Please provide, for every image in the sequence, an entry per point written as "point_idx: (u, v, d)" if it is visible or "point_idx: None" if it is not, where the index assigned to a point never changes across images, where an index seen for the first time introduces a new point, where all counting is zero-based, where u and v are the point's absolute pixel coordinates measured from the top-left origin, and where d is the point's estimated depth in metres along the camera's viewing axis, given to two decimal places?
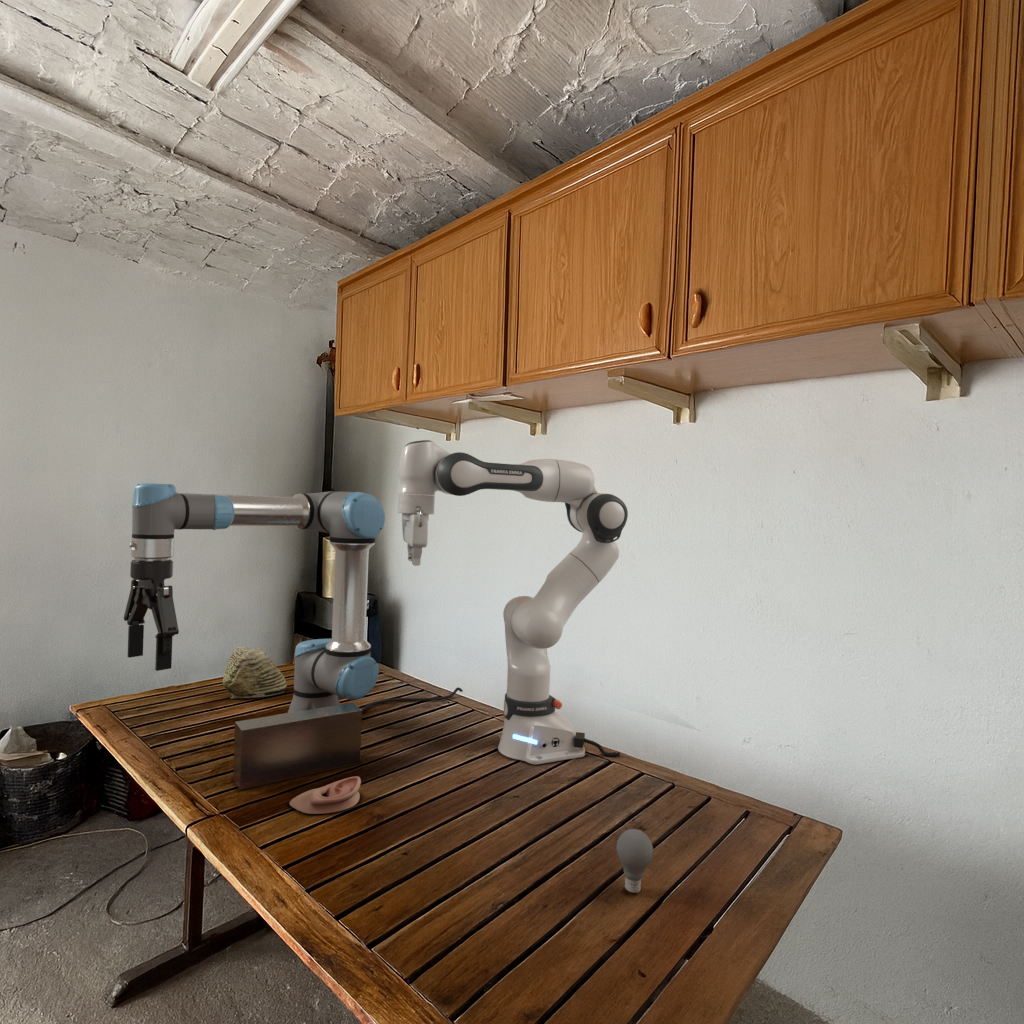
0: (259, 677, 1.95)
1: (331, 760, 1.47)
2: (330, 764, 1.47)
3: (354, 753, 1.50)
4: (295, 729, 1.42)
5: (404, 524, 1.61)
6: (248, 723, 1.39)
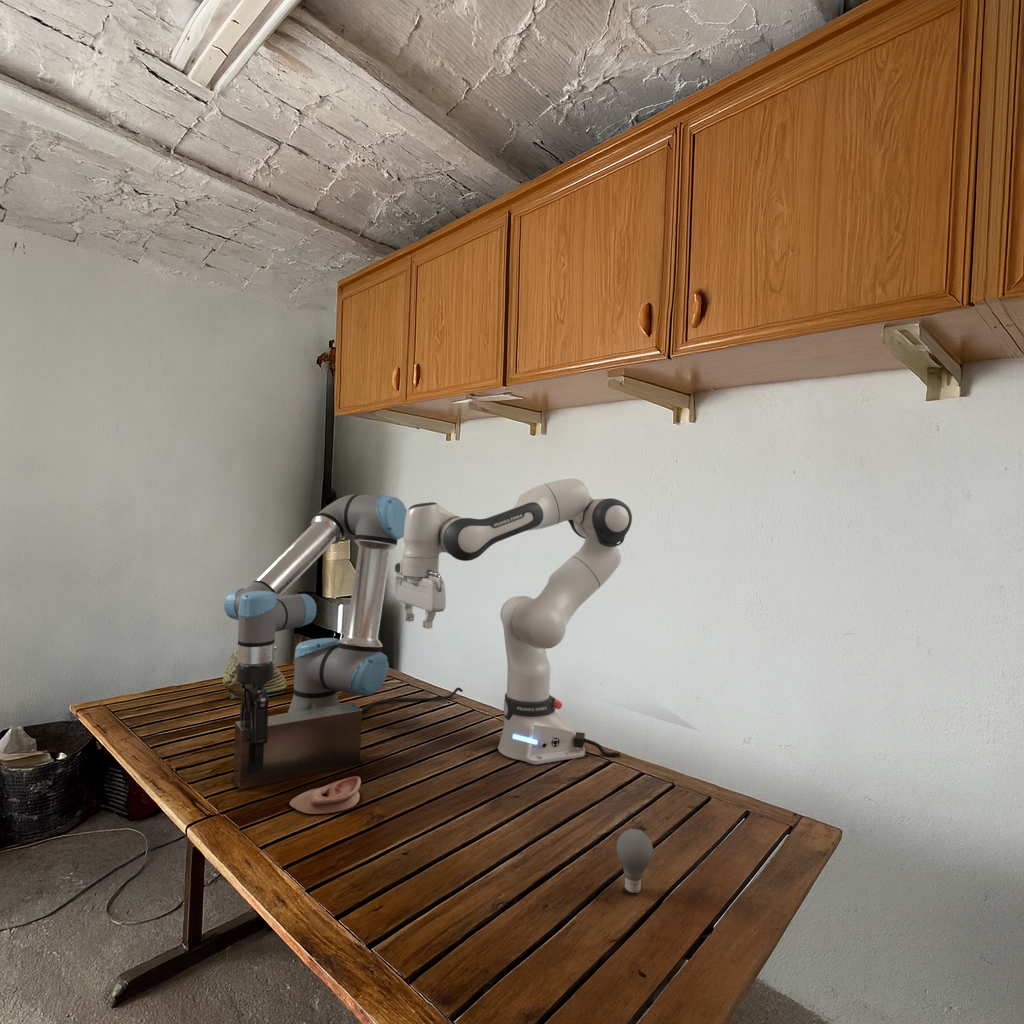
0: None
1: (331, 760, 1.47)
2: (330, 764, 1.47)
3: (354, 753, 1.50)
4: (295, 729, 1.42)
5: (398, 584, 1.60)
6: (249, 723, 1.39)
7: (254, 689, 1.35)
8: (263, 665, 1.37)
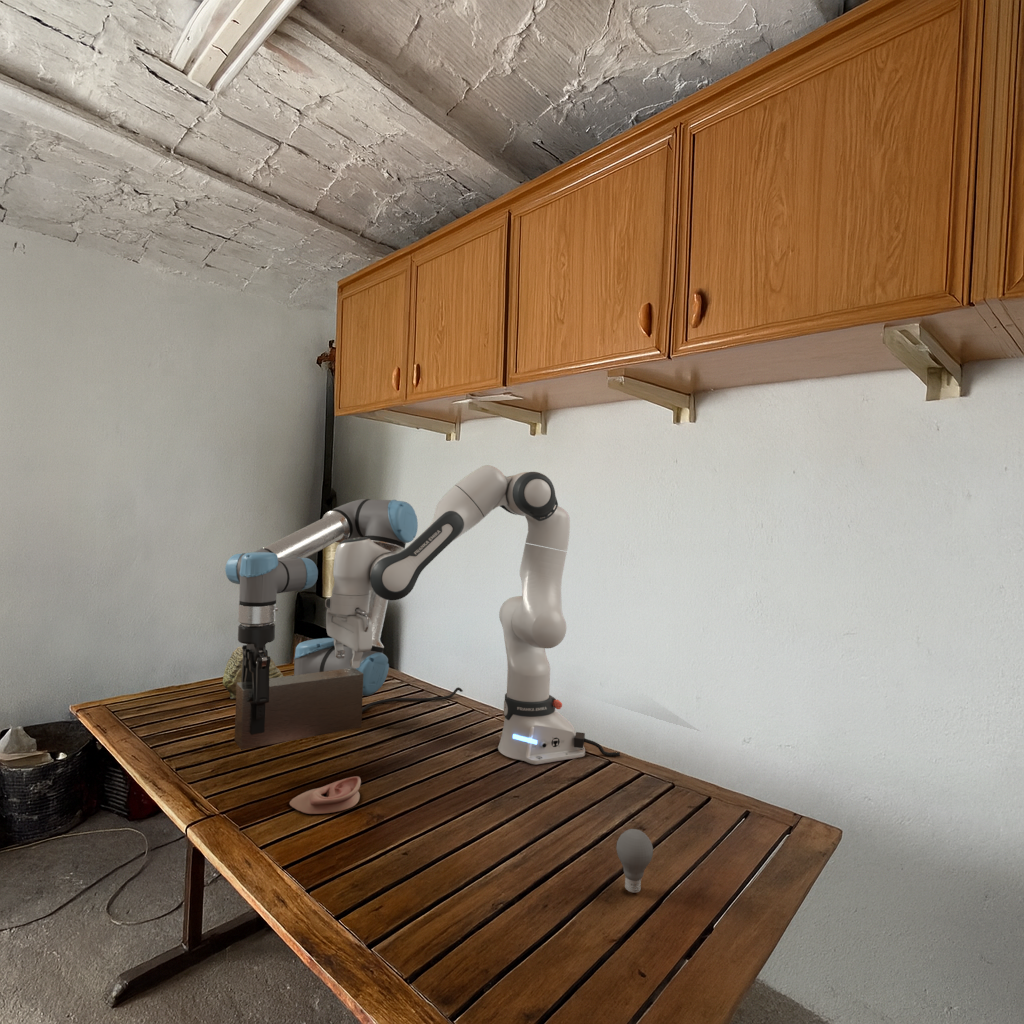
0: None
1: (333, 723, 1.47)
2: (332, 727, 1.47)
3: (355, 717, 1.50)
4: (296, 691, 1.41)
5: (330, 619, 1.56)
6: (250, 684, 1.39)
7: (255, 649, 1.35)
8: (264, 625, 1.37)
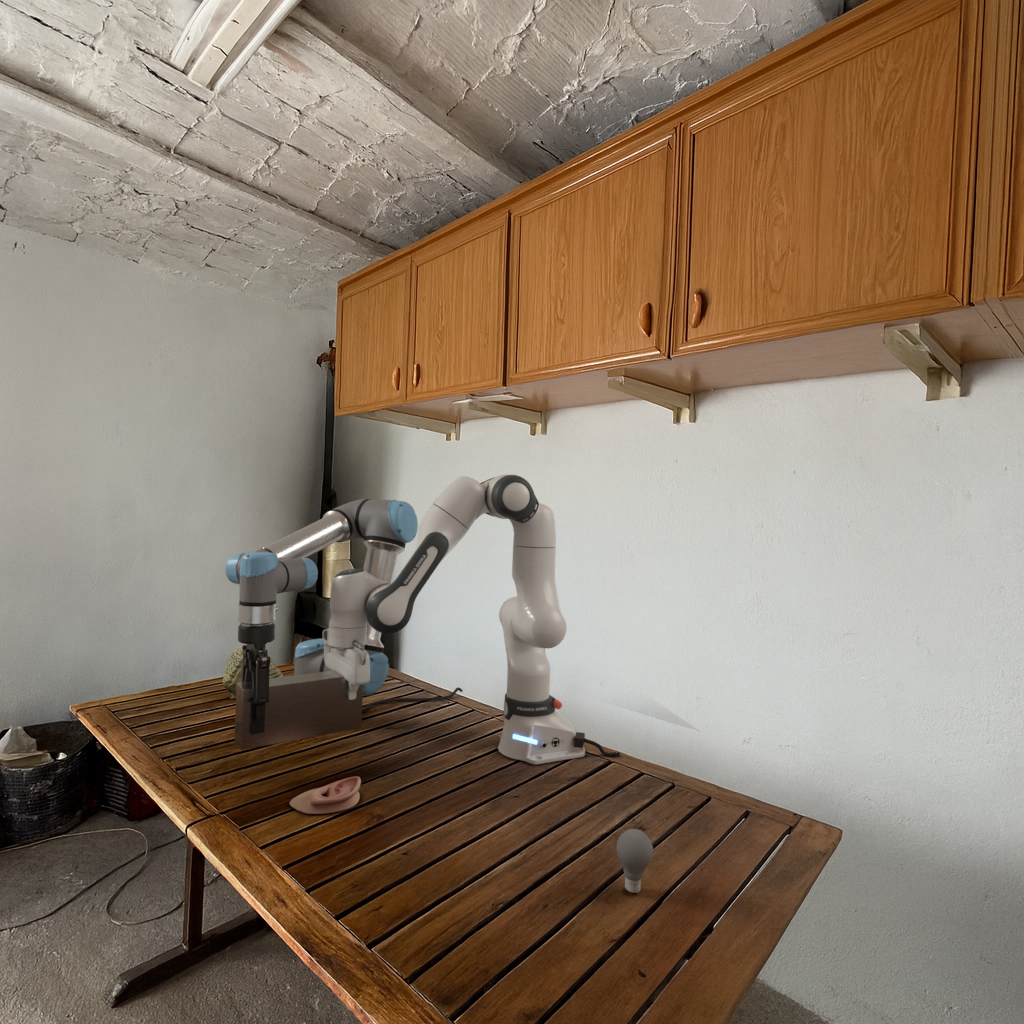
0: None
1: (333, 724, 1.47)
2: (332, 727, 1.47)
3: (355, 717, 1.50)
4: (296, 691, 1.41)
5: (327, 650, 1.56)
6: (250, 684, 1.39)
7: (255, 649, 1.35)
8: (264, 625, 1.37)
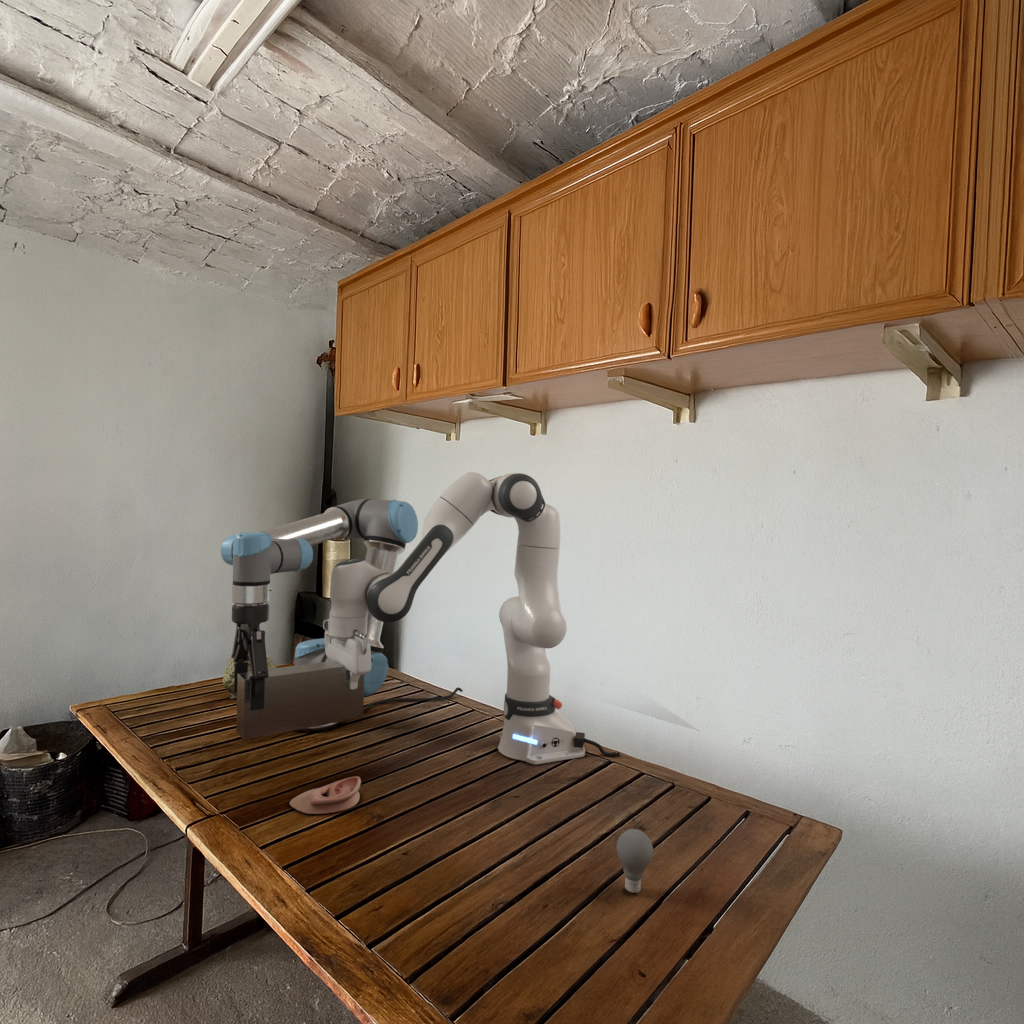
0: None
1: (334, 713, 1.47)
2: (333, 717, 1.47)
3: (357, 707, 1.50)
4: (297, 681, 1.41)
5: (328, 641, 1.56)
6: (251, 674, 1.39)
7: (249, 629, 1.34)
8: (258, 605, 1.36)
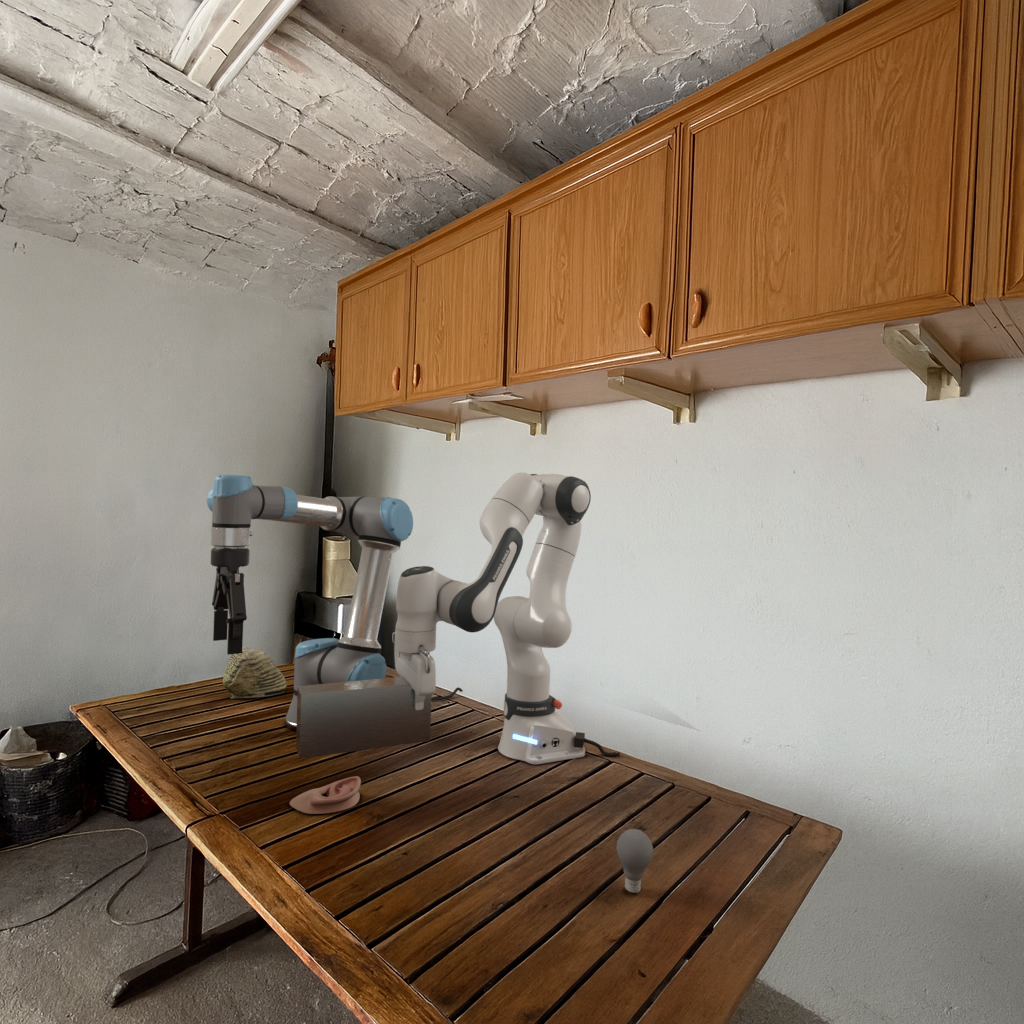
0: (259, 677, 1.95)
1: (398, 735, 1.35)
2: (397, 739, 1.35)
3: (423, 729, 1.37)
4: (358, 698, 1.31)
5: (397, 654, 1.45)
6: (310, 688, 1.30)
7: (228, 572, 1.31)
8: (238, 548, 1.33)
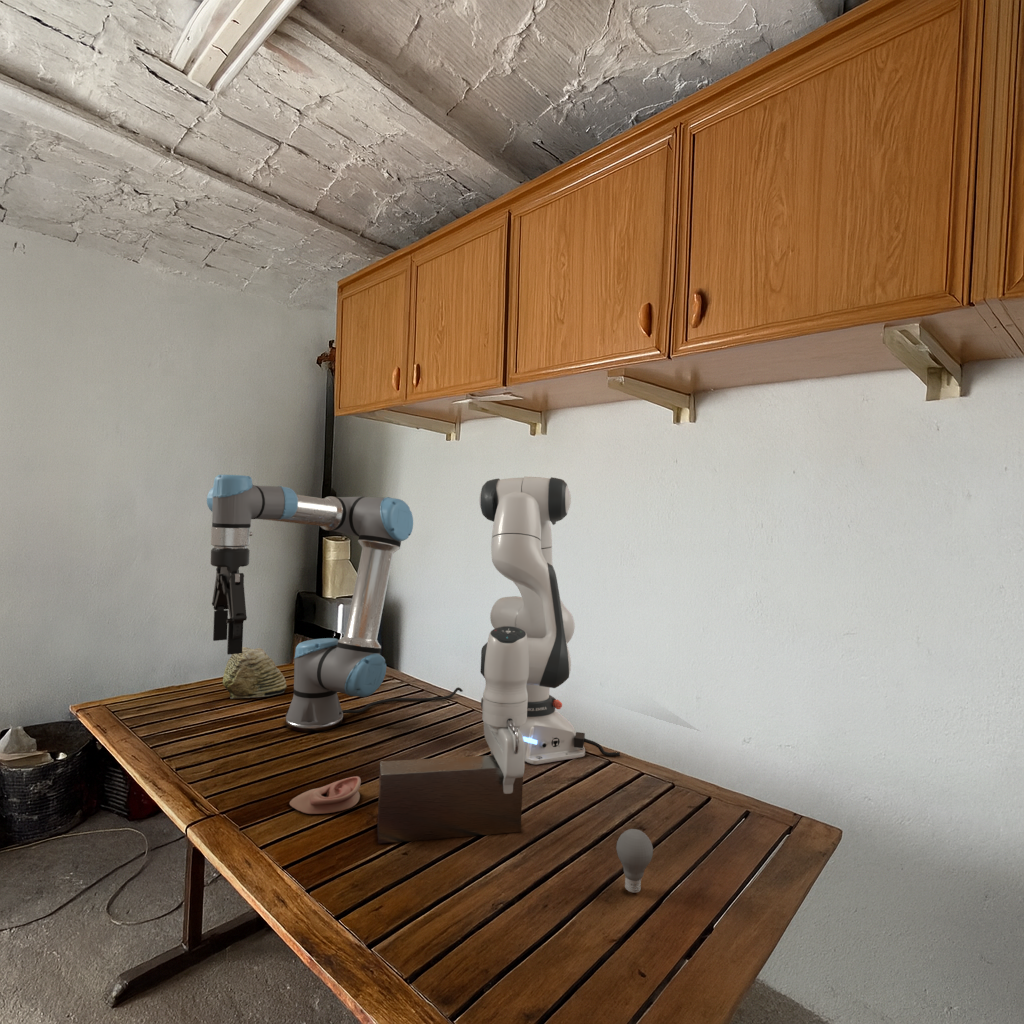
0: (259, 677, 1.95)
1: (485, 824, 1.21)
2: (484, 828, 1.21)
3: (513, 819, 1.23)
4: (441, 781, 1.19)
5: None
6: (392, 765, 1.20)
7: (228, 572, 1.31)
8: (238, 548, 1.33)
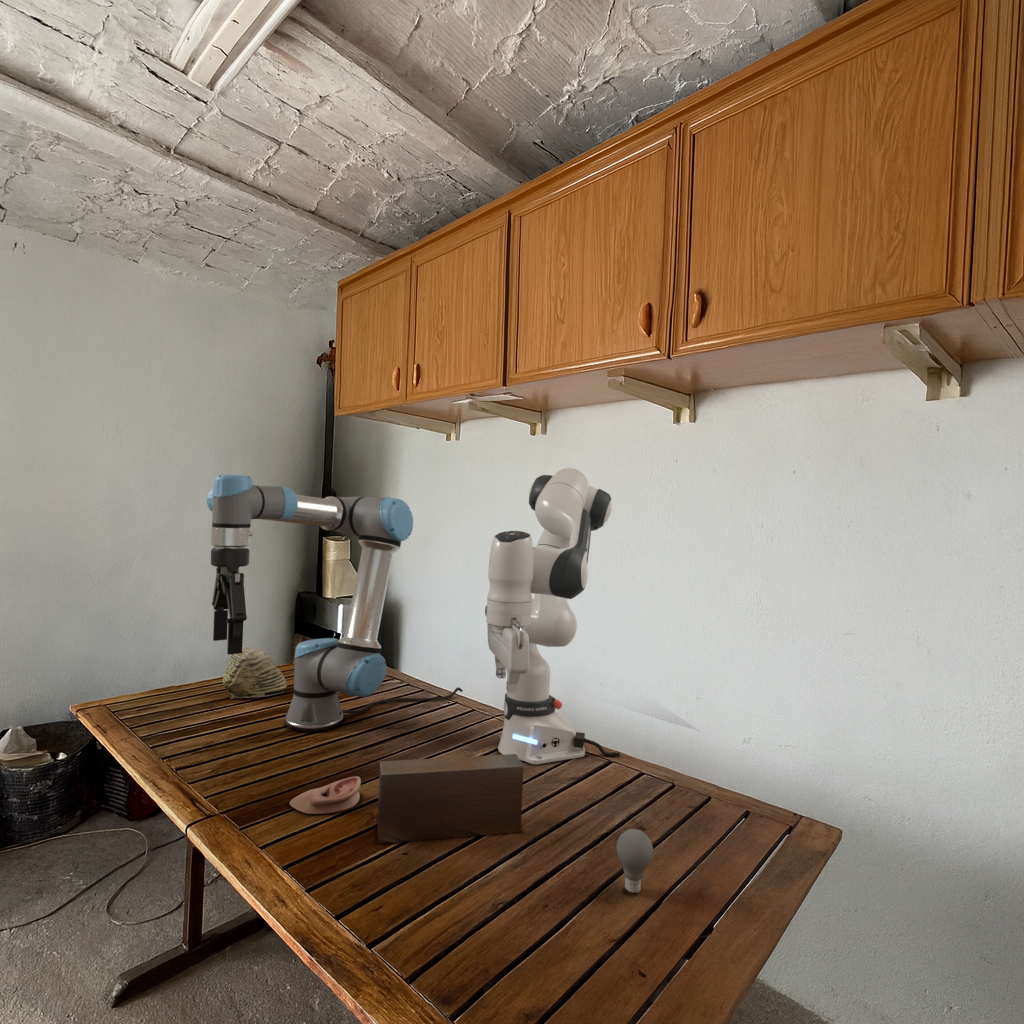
0: (259, 677, 1.95)
1: (485, 824, 1.21)
2: (484, 828, 1.21)
3: (513, 819, 1.23)
4: (441, 781, 1.19)
5: (490, 630, 1.31)
6: (392, 765, 1.20)
7: (228, 572, 1.31)
8: (238, 548, 1.33)
